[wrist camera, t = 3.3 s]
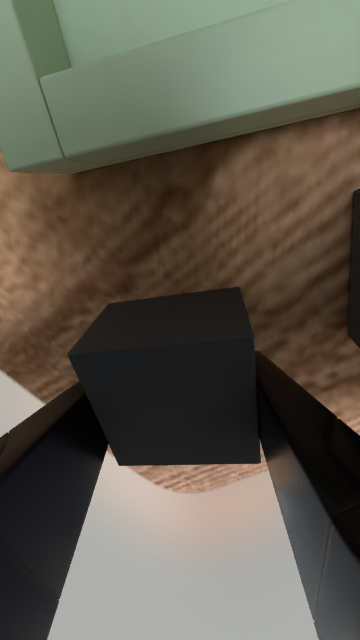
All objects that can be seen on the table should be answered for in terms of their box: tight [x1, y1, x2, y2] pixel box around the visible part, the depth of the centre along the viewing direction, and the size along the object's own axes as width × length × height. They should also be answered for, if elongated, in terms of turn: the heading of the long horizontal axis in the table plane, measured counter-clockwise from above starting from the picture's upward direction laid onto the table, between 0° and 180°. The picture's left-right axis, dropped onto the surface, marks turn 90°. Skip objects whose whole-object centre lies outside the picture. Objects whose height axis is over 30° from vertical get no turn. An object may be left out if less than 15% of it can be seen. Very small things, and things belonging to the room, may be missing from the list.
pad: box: [68, 287, 261, 466], centre depth 8 cm, size 4×4×3 cm
